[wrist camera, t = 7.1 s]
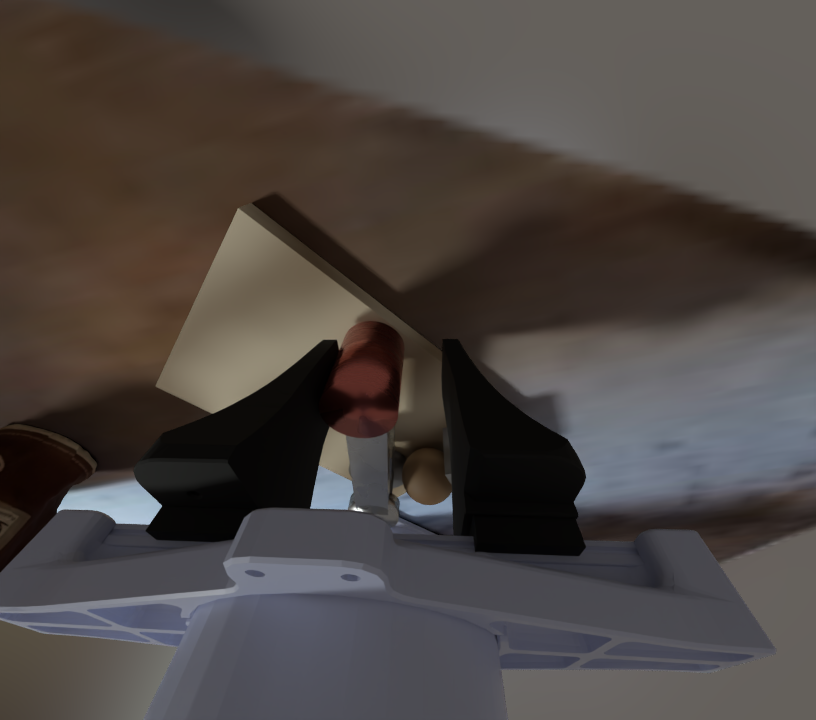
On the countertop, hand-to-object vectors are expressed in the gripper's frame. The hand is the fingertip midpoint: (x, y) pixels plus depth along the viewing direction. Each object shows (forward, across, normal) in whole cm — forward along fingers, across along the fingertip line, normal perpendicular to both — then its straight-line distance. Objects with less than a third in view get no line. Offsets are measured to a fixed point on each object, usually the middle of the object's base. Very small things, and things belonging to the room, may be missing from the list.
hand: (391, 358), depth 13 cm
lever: (+1, +1, +5) cm, 5 cm away
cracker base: (+2, +3, +5) cm, 6 cm away
